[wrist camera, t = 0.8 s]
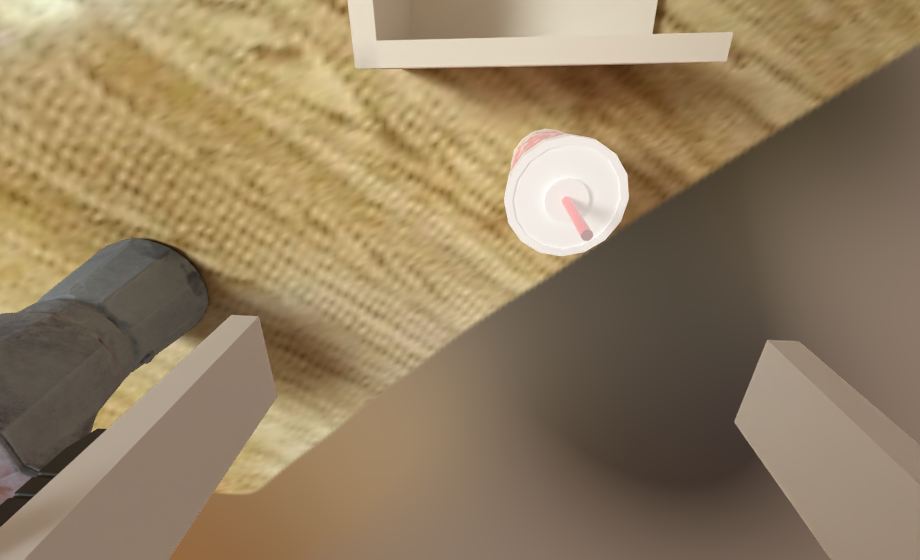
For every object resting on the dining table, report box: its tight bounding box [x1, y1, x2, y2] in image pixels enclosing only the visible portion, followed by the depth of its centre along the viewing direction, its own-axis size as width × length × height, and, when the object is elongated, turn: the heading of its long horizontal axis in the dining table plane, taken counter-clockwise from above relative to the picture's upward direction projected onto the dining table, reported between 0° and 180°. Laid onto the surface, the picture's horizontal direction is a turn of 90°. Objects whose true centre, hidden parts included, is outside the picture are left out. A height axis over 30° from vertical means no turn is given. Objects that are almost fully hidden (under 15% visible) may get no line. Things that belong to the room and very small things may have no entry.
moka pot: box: [0, 238, 208, 505], centre depth 26 cm, size 10×15×20 cm, turn 71°
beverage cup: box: [504, 129, 629, 256], centre depth 23 cm, size 6×6×14 cm
